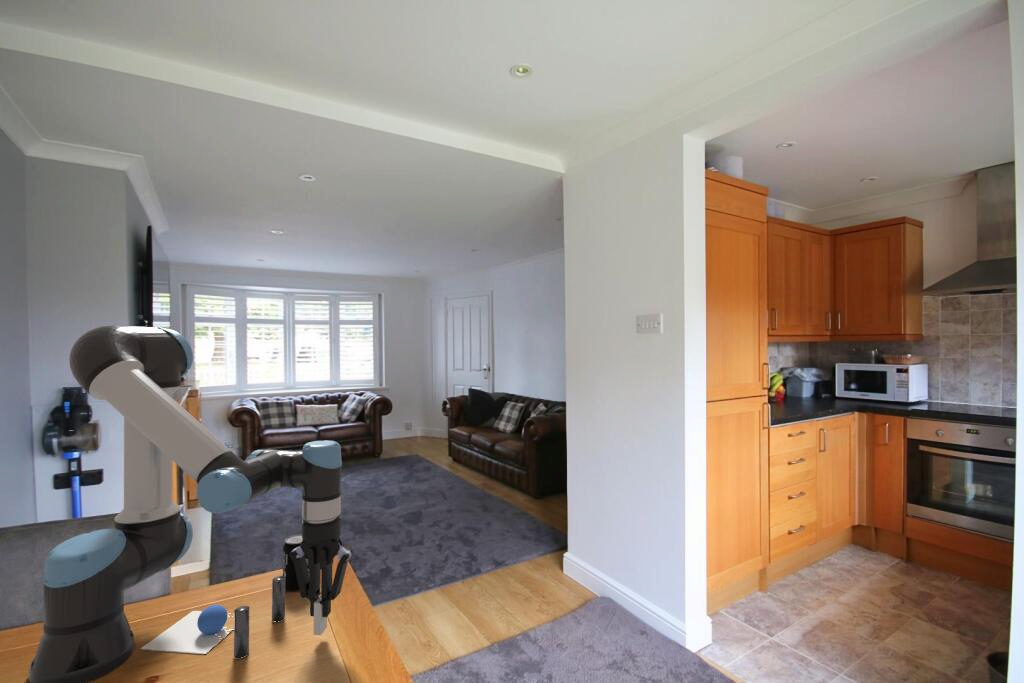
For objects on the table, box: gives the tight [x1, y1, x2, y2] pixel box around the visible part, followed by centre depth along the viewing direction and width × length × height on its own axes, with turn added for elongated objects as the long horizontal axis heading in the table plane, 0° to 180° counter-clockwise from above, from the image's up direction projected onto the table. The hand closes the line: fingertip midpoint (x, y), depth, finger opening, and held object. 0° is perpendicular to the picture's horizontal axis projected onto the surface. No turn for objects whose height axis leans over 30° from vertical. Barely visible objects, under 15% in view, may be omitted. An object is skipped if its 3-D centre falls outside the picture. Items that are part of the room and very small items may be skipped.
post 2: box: [271, 575, 286, 623], centre depth 109 cm, size 3×3×9 cm
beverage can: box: [282, 533, 309, 592], centre depth 124 cm, size 7×7×12 cm
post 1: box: [233, 605, 250, 659], centre depth 96 cm, size 3×3×9 cm
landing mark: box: [140, 610, 234, 655], centre depth 104 cm, size 14×14×1 cm
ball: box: [197, 604, 228, 634], centre depth 104 cm, size 6×6×6 cm
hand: (320, 631), depth 101 cm, fingers closed
